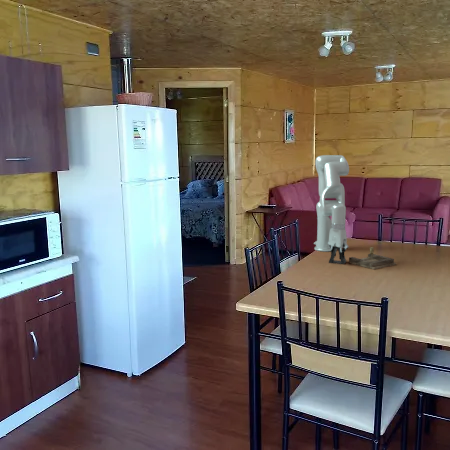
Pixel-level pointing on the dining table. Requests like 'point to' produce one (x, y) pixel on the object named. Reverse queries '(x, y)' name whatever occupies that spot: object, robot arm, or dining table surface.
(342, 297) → the dining table surface
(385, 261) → the board
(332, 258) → the phone stand
